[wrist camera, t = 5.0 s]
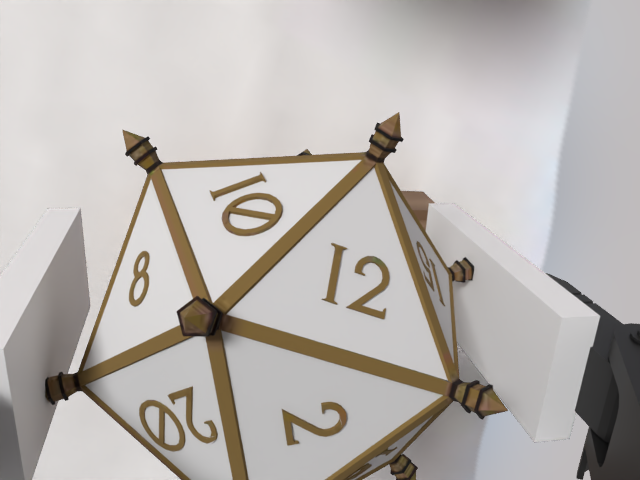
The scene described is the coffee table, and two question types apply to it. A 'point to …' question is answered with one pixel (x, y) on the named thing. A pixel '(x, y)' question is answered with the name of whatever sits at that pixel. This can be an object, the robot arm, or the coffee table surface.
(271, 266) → the game die
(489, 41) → the coffee table surface
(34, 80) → the coffee table surface
